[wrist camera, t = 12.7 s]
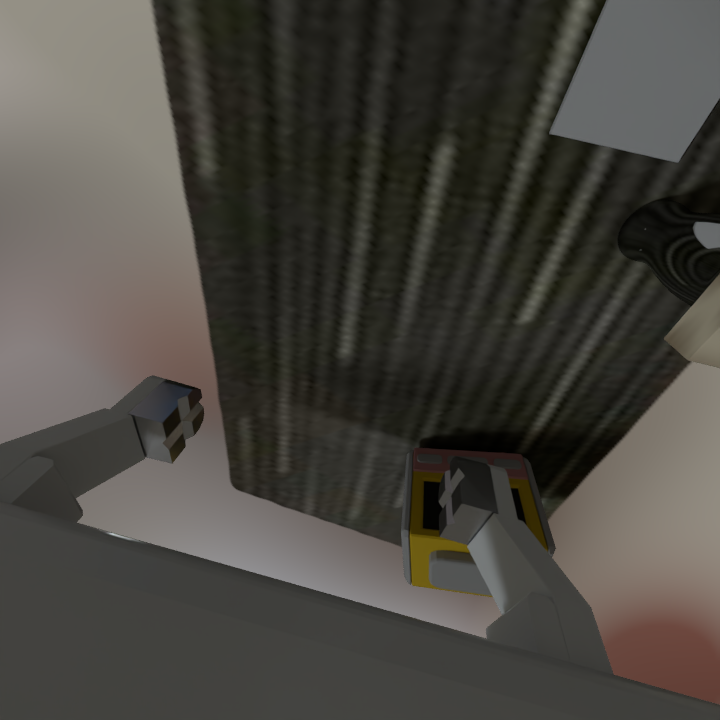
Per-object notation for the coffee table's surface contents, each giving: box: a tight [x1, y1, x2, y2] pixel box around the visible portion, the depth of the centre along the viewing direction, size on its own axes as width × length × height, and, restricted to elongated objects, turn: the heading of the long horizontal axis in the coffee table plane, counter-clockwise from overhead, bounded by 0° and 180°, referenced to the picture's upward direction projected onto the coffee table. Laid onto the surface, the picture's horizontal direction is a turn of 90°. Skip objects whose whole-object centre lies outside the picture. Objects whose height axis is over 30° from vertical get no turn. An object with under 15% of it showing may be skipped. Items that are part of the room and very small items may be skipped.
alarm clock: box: [401, 448, 556, 597], centre depth 53 cm, size 20×16×18 cm
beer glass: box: [618, 200, 720, 307], centre depth 29 cm, size 7×7×15 cm
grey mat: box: [549, 0, 720, 162], centre depth 28 cm, size 12×12×1 cm
